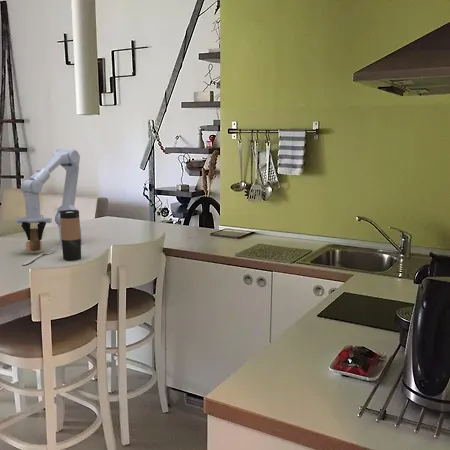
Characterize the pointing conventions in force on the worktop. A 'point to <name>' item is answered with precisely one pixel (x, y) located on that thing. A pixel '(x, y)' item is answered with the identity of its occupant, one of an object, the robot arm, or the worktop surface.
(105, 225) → the worktop surface
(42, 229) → the robot arm
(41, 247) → the cup
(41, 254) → the fork
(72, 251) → the travel mug
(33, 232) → the peg
